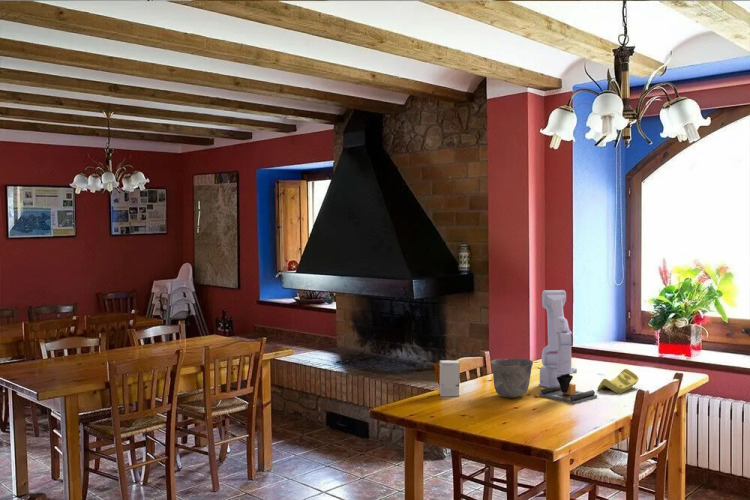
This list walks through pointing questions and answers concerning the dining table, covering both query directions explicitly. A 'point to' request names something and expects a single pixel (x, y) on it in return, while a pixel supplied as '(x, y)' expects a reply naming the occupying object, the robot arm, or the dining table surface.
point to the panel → (566, 397)
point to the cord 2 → (582, 395)
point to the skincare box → (449, 378)
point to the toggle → (571, 389)
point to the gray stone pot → (511, 376)
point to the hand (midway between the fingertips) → (564, 392)
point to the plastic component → (620, 382)
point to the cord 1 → (550, 389)
